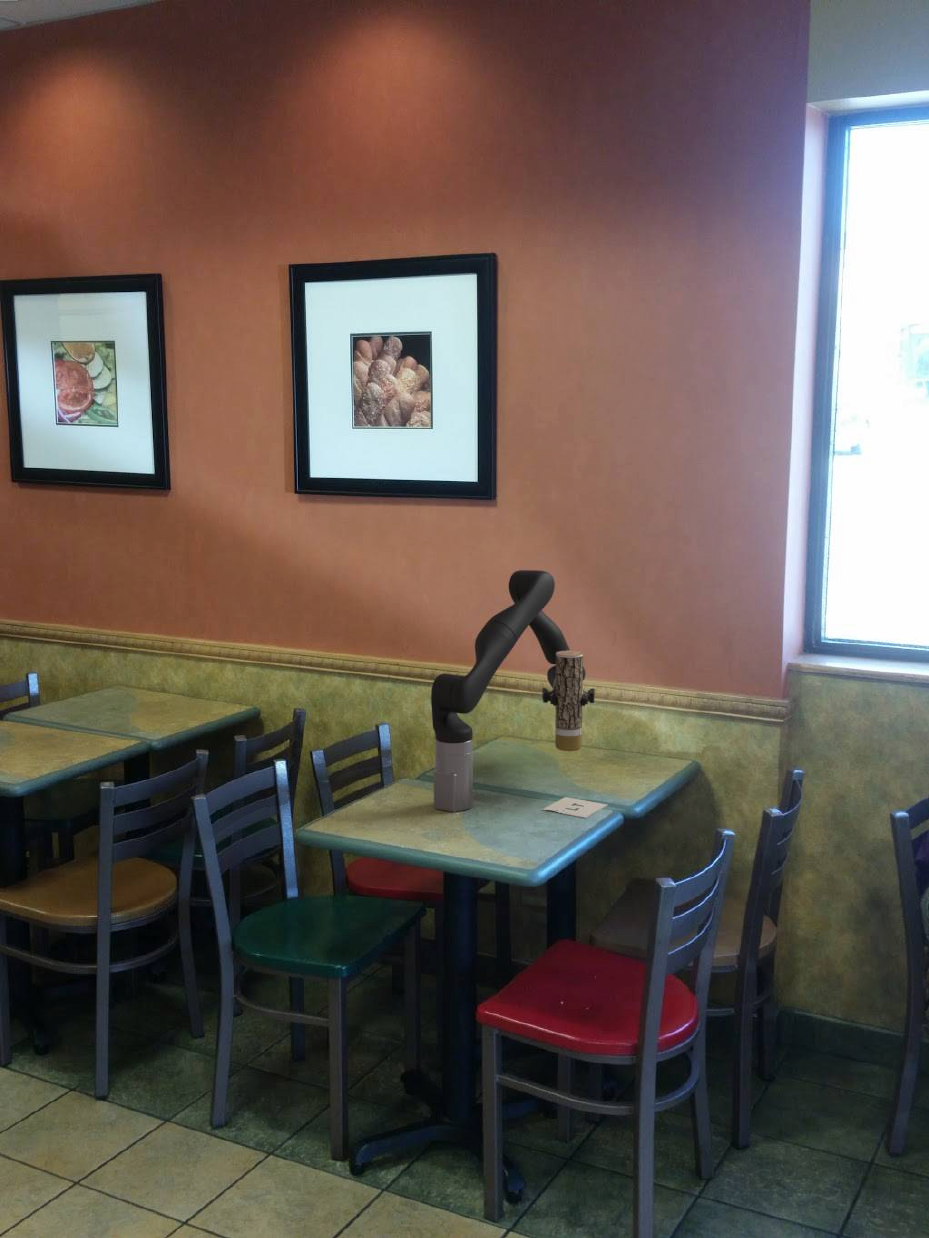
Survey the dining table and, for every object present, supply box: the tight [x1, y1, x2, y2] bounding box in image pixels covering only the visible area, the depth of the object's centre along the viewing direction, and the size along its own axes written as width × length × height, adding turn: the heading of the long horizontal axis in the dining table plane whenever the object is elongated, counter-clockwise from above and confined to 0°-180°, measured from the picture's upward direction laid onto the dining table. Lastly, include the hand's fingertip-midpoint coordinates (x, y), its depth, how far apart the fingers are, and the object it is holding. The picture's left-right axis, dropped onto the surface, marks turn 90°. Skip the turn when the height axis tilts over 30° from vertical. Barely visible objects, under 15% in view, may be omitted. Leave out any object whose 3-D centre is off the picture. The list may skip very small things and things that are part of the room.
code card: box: [541, 796, 609, 819], centre depth 305 cm, size 12×12×1 cm
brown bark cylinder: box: [554, 650, 584, 752], centre depth 315 cm, size 7×7×25 cm
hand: (569, 702), depth 312 cm, fingers closed on brown bark cylinder, 7 cm apart
